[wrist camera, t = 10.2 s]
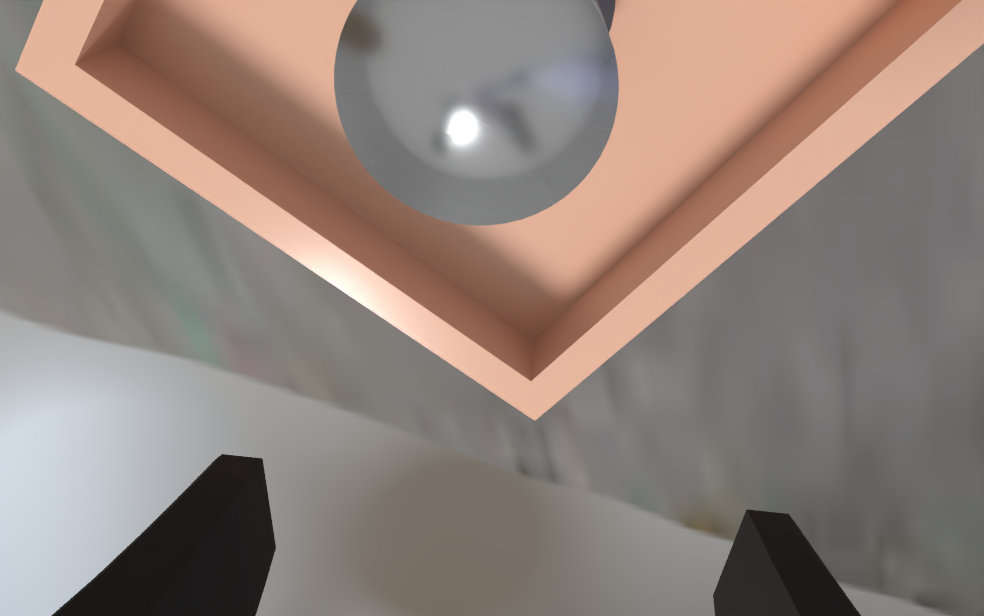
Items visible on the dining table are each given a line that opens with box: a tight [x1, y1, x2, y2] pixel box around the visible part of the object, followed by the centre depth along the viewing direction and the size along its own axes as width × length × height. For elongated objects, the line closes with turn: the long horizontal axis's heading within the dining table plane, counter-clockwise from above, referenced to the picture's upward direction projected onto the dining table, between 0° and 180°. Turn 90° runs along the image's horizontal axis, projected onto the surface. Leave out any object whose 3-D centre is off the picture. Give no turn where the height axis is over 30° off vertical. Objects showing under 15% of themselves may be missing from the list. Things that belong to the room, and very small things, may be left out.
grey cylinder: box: [334, 0, 619, 225], centre depth 12 cm, size 5×5×8 cm
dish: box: [15, 0, 984, 421], centre depth 15 cm, size 15×15×2 cm
